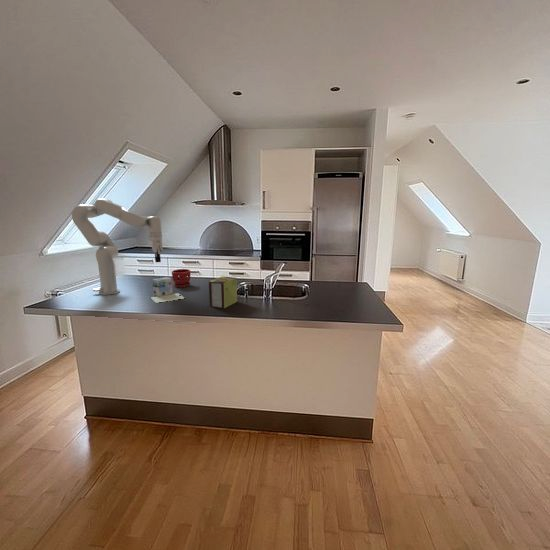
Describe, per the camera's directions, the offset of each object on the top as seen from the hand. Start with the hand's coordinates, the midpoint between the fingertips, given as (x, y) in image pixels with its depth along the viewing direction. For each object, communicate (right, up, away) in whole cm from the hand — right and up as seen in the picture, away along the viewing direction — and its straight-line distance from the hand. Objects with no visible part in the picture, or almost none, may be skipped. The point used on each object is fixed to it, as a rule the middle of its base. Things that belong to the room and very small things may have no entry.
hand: (158, 262), depth 200 cm
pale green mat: (+11, -24, -12) cm, 29 cm away
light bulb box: (+5, -22, -4) cm, 23 cm away
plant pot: (+10, -17, +20) cm, 28 cm away
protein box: (+49, -27, -21) cm, 59 cm away
